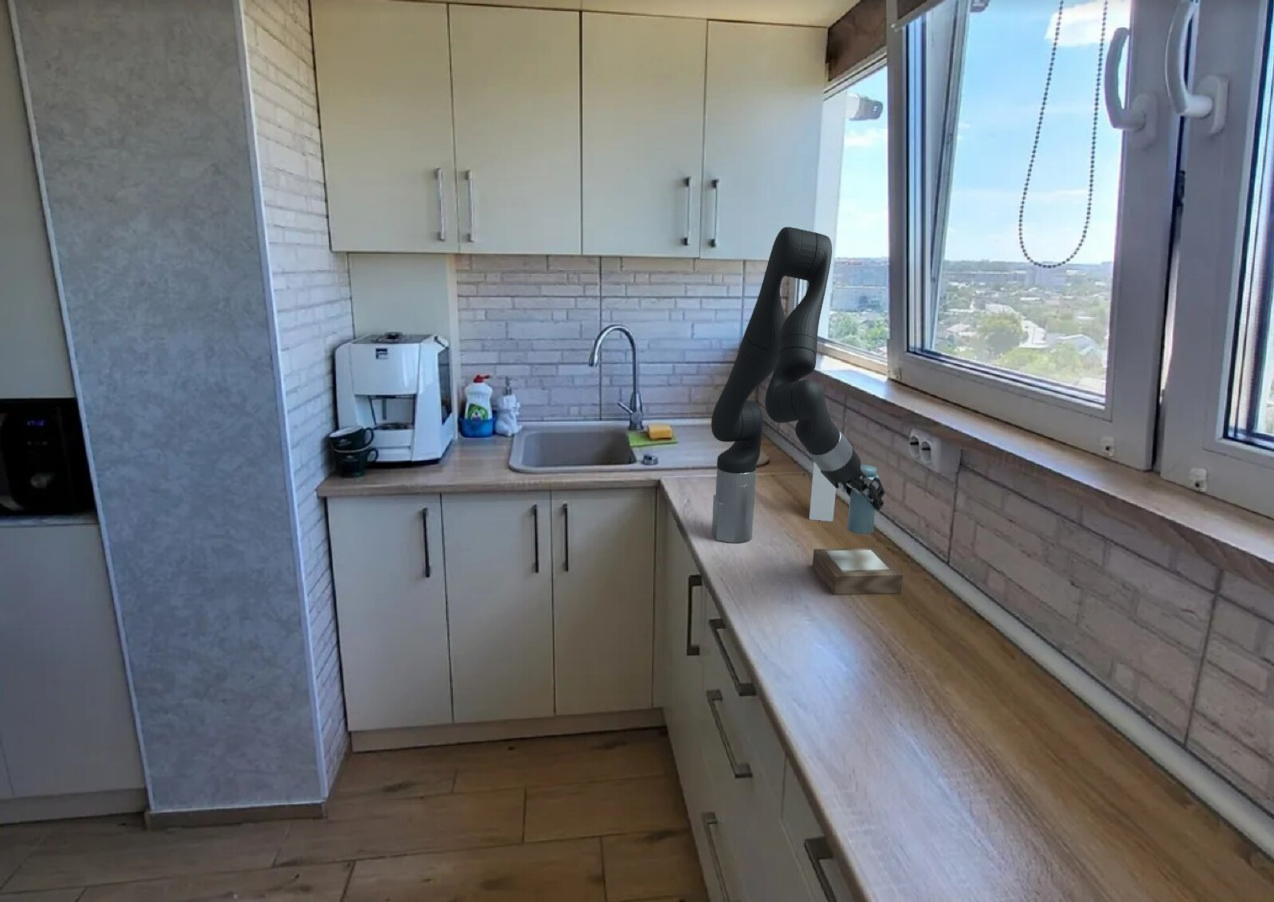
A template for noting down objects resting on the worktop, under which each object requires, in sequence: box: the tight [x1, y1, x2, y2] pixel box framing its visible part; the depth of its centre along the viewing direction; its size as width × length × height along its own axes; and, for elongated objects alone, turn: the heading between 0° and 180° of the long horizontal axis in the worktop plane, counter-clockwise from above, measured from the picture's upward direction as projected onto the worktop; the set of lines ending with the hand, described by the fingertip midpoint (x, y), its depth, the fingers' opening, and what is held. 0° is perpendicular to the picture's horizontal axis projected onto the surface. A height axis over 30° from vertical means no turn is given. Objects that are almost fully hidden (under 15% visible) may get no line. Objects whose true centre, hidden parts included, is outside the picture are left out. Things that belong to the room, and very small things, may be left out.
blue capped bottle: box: [846, 464, 880, 535], centre depth 151 cm, size 5×5×14 cm
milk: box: [808, 461, 837, 523], centre depth 189 cm, size 6×6×22 cm
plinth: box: [812, 547, 904, 596], centre depth 156 cm, size 14×14×4 cm
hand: (868, 502), depth 153 cm, fingers closed on blue capped bottle, 5 cm apart
